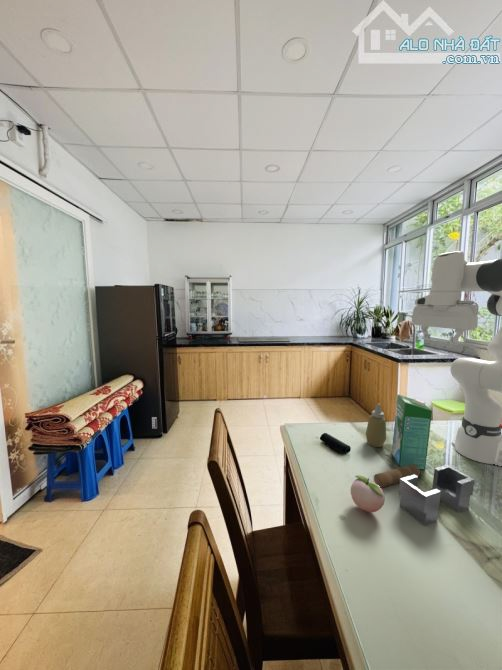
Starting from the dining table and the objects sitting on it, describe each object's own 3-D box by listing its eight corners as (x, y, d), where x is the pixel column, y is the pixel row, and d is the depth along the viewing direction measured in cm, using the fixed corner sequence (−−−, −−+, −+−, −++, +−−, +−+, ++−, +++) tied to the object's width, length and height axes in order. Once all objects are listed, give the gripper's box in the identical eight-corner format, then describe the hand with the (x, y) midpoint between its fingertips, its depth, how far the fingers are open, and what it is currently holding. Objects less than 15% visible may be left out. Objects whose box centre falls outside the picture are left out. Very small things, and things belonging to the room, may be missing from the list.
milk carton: (425, 469, 100) (433, 404, 97) (398, 466, 102) (405, 402, 99) (415, 456, 109) (422, 396, 106) (391, 453, 111) (397, 393, 108)
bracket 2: (457, 512, 80) (461, 484, 79) (431, 494, 87) (434, 468, 86) (470, 507, 82) (474, 479, 81) (443, 490, 89) (447, 464, 88)
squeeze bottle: (386, 443, 119) (390, 403, 117) (384, 451, 112) (388, 409, 110) (366, 437, 123) (370, 399, 121) (363, 445, 116) (366, 404, 114)
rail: (409, 472, 99) (410, 462, 98) (419, 479, 95) (420, 468, 95) (373, 482, 93) (374, 471, 92) (383, 490, 89) (383, 478, 88)
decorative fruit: (342, 506, 81) (345, 475, 80) (358, 495, 86) (360, 466, 85) (373, 528, 73) (376, 494, 72) (387, 514, 78) (391, 482, 77)
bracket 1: (411, 501, 84) (414, 474, 83) (437, 520, 77) (440, 491, 75) (397, 506, 82) (400, 478, 81) (422, 526, 74) (425, 496, 73)
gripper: (485, 301, 84) (479, 345, 86) (422, 300, 103) (418, 336, 105) (472, 300, 82) (466, 345, 84) (410, 300, 101) (407, 337, 103)
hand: (439, 340), depth 94 cm, fingers open, 8 cm apart
